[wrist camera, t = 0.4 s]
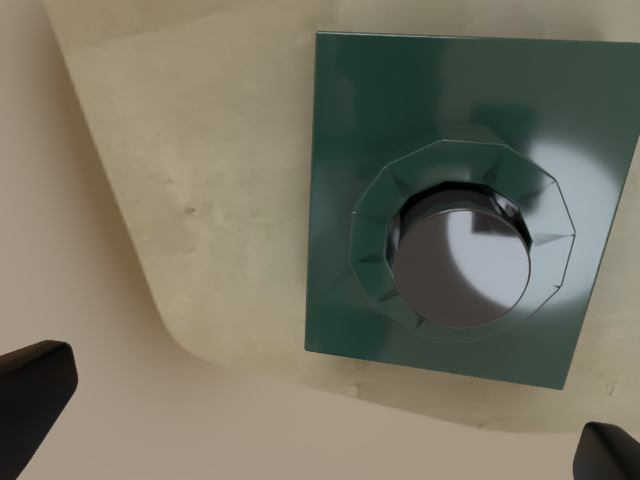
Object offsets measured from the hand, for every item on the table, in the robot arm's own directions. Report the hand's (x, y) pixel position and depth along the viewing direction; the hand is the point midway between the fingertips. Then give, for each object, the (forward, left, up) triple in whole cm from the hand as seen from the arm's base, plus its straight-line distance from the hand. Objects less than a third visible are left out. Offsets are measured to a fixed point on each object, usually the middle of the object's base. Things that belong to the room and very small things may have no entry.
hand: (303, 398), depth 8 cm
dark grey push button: (0, -3, -8) cm, 8 cm away
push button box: (0, -3, -13) cm, 14 cm away
